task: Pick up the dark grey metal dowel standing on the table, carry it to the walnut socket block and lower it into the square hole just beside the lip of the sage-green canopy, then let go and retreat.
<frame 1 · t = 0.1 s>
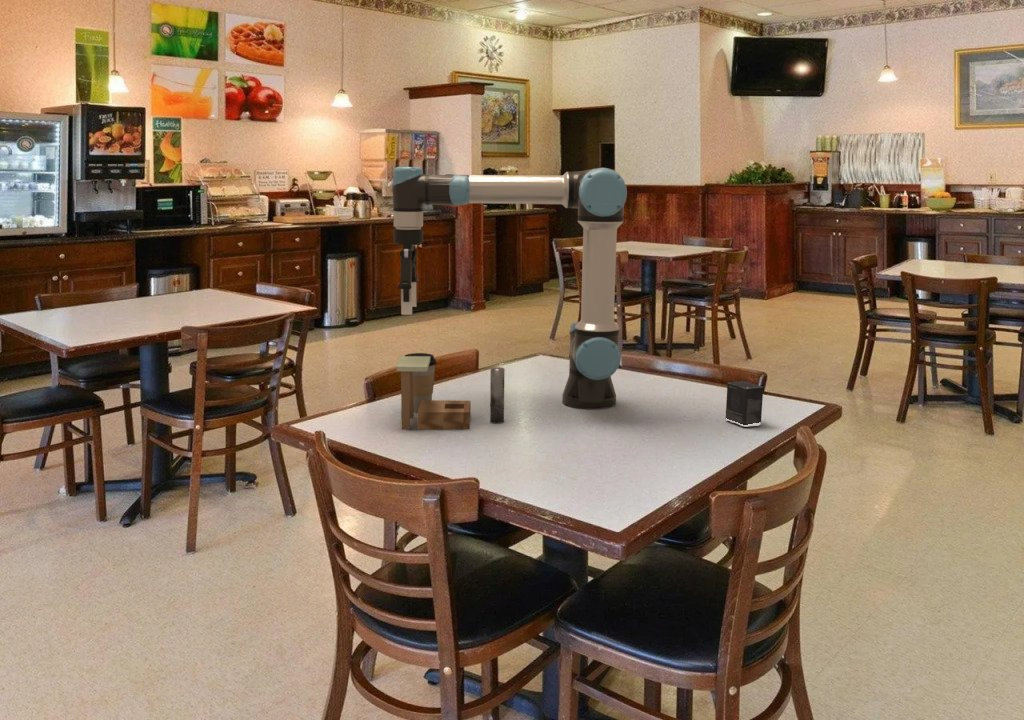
hand: (409, 310, 244), 28 cm above the table, fingers open, 13 cm apart
awning: (407, 422, 241), on the table
coffee cup: (419, 410, 254), on the table
socket: (442, 423, 241), on the table
peg: (497, 421, 243), on the table
box: (742, 424, 244), on the table
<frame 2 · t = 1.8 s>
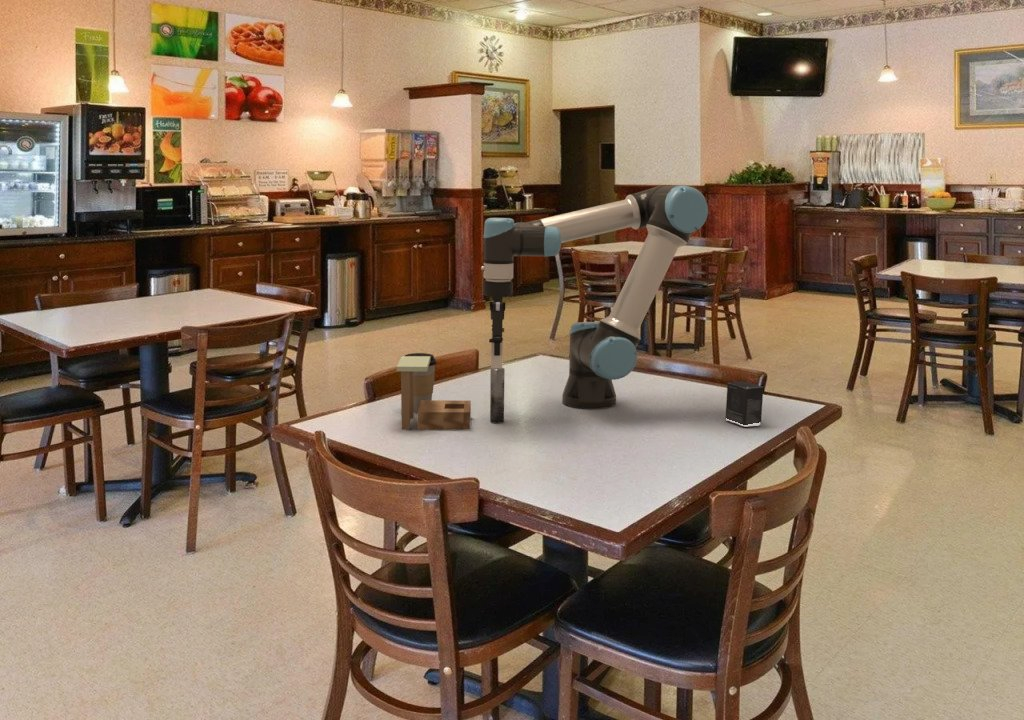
hand: (496, 362, 240), 16 cm above the table, fingers open, 13 cm apart
nothing on the table moved.
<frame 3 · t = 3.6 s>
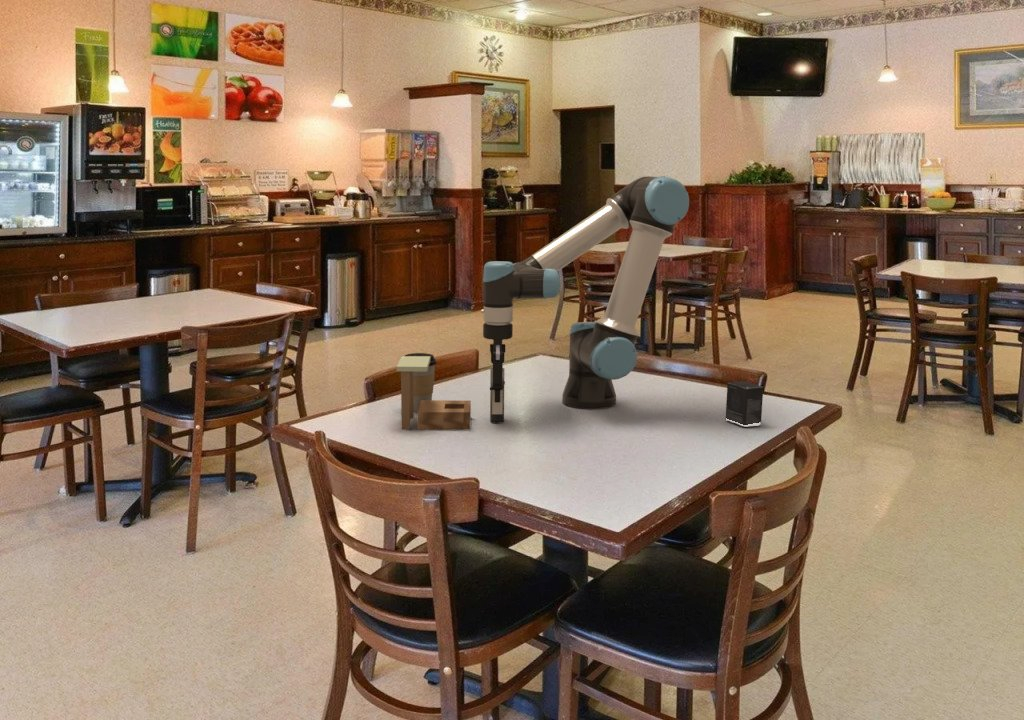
hand: (497, 411, 243), 3 cm above the table, fingers closed on peg, 3 cm apart
peg: (497, 421, 243), on the table, touching gripper
everything else where it was.
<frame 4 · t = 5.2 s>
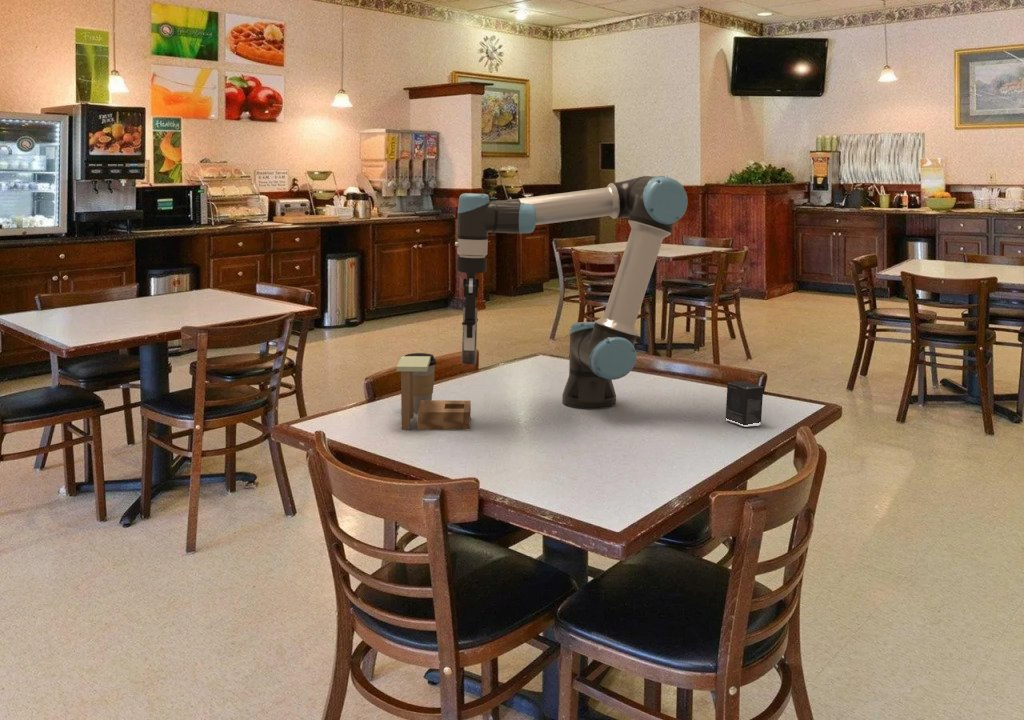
hand: (469, 348, 238), 20 cm above the table, fingers closed on peg, 3 cm apart
peg: (468, 363, 239), point 16 cm above the table, touching gripper
everything else where it was.
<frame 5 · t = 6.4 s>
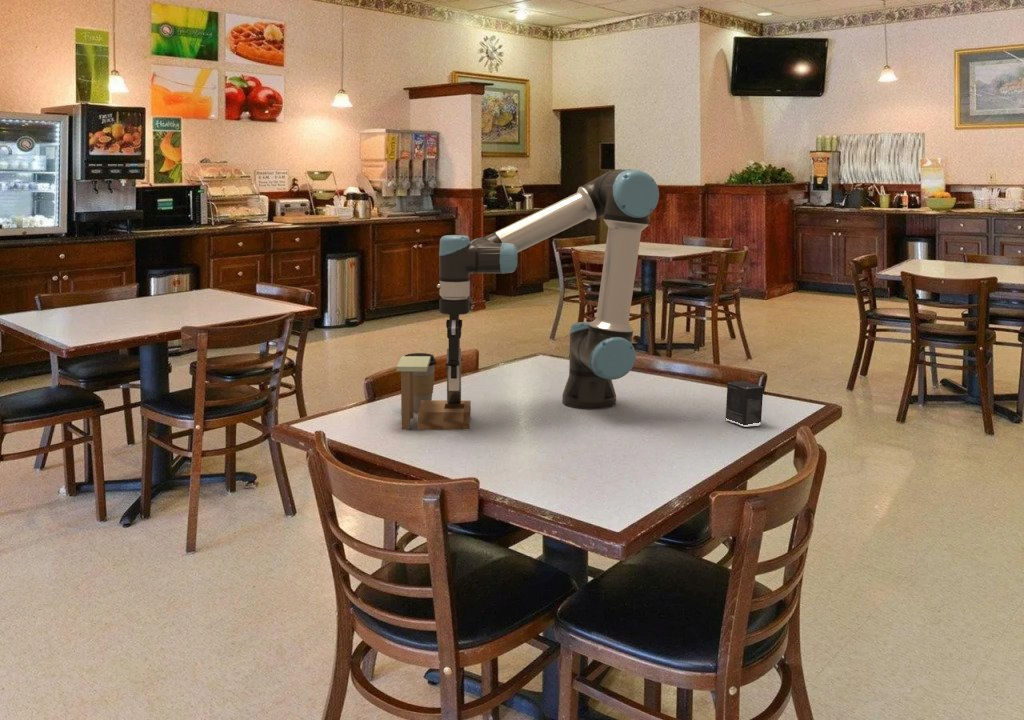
hand: (454, 388, 239), 9 cm above the table, fingers closed on peg, 3 cm apart
peg: (454, 402, 240), point 5 cm above the table, touching gripper
everything else where it was.
when the fingers open (6 cm above the table, at t = 7.2 s): peg drops 2 cm, resting in socket.
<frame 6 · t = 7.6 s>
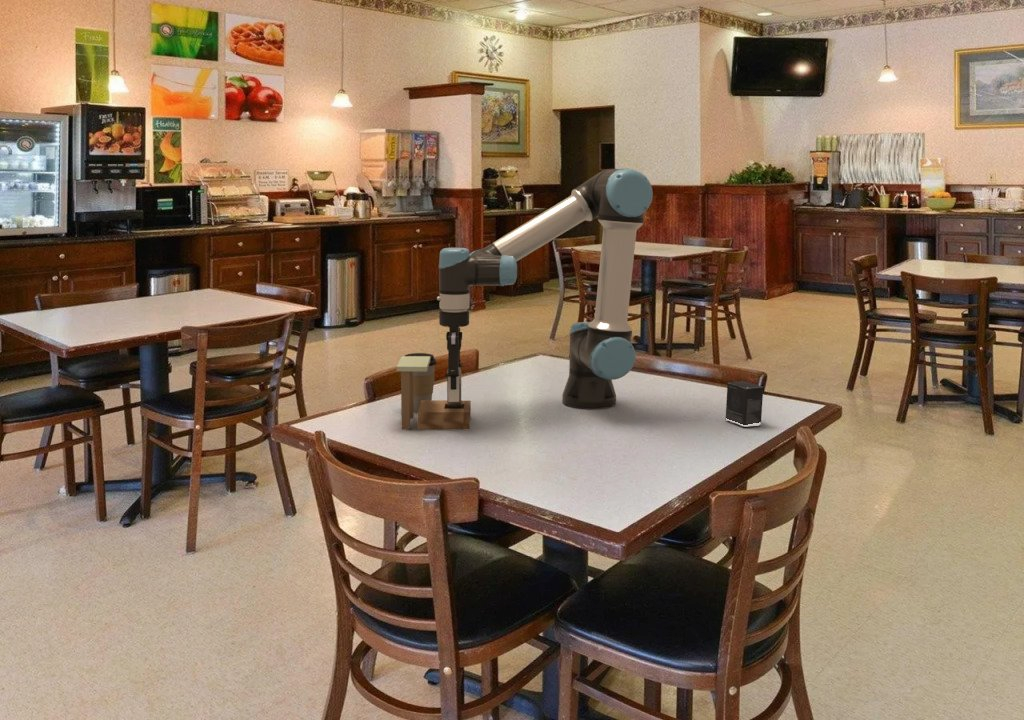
hand: (454, 396, 240), 7 cm above the table, fingers open, 9 cm apart
peg: (454, 423, 241), resting in socket
everything else where it was.
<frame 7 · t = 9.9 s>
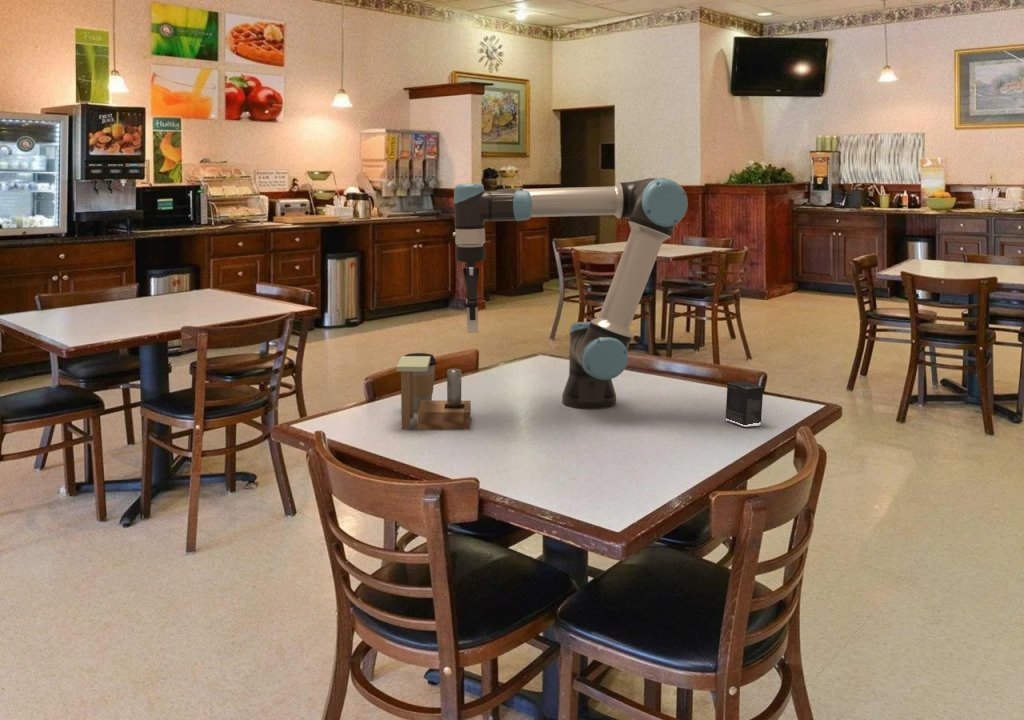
hand: (472, 328, 241), 24 cm above the table, fingers open, 13 cm apart
nothing on the table moved.
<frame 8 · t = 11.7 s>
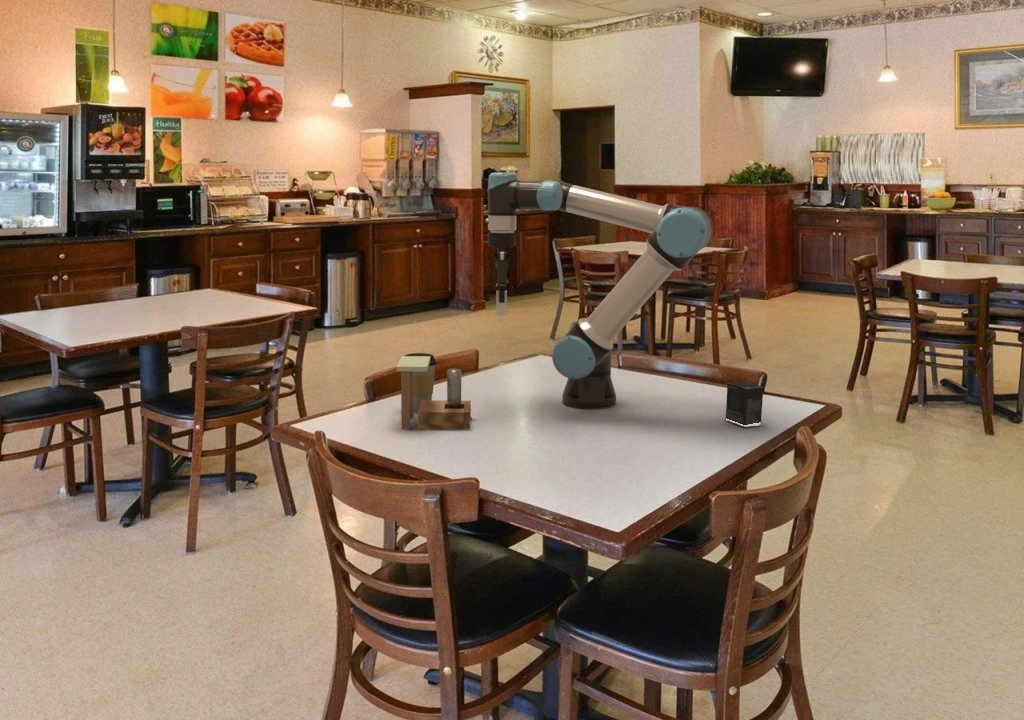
hand: (501, 311, 253), 27 cm above the table, fingers open, 13 cm apart
nothing on the table moved.
at the end: peg 0.0 cm from the target spot on the socket, point 0.0 cm above the socket's base; peg tilted 0°; the gripper is holding nothing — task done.
